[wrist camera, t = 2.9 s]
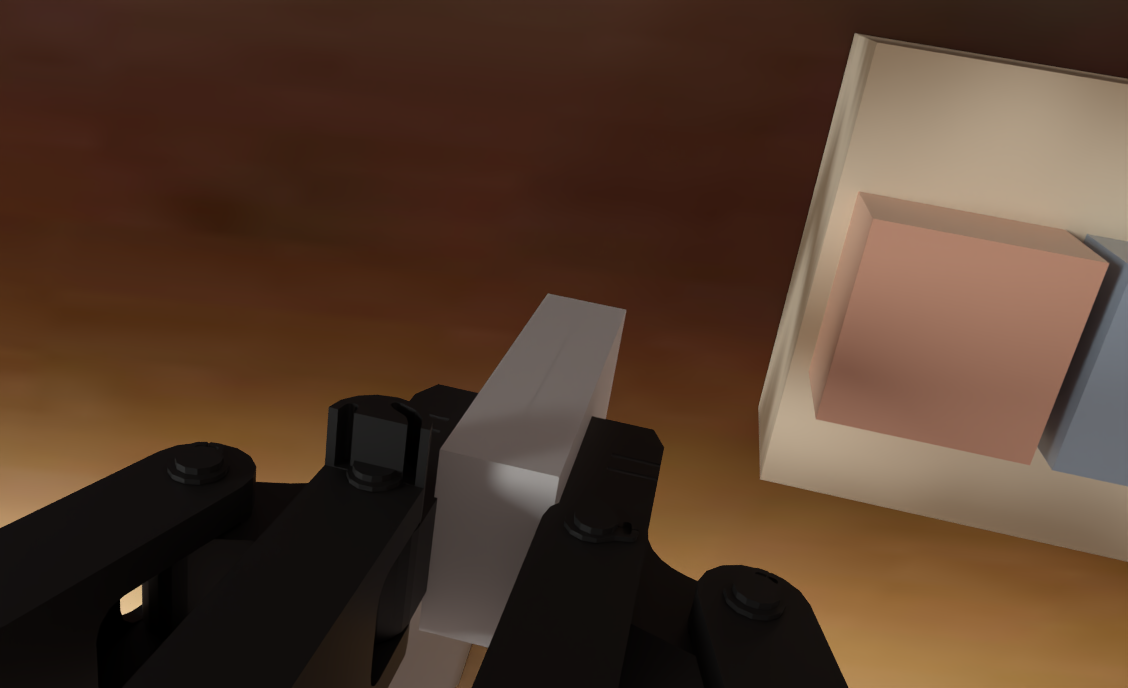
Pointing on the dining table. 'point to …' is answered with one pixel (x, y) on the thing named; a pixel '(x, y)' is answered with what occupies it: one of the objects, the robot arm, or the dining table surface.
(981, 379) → the terracotta tile
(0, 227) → the dining table surface
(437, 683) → the flask
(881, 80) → the cream square tray
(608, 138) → the dining table surface
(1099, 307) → the slate tile
